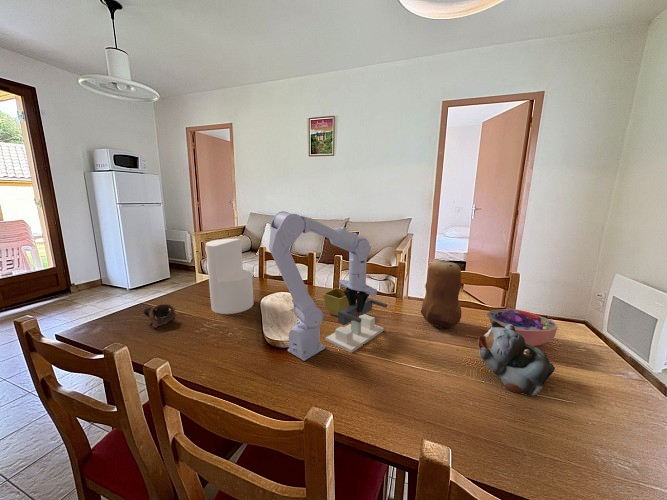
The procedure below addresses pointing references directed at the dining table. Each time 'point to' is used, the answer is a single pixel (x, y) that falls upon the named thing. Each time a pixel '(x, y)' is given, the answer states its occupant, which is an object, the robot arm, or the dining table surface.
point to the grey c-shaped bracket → (349, 312)
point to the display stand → (355, 333)
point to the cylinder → (228, 277)
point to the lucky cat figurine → (514, 359)
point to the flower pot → (335, 301)
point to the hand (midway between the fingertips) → (356, 310)
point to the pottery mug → (160, 314)
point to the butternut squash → (442, 294)
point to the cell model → (526, 325)
